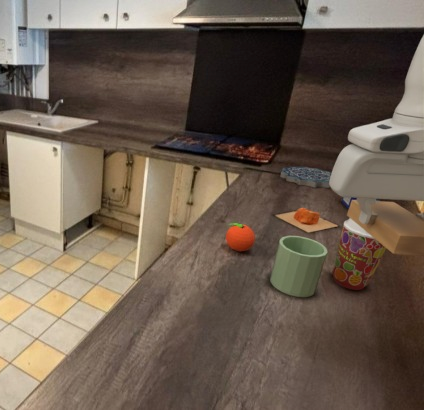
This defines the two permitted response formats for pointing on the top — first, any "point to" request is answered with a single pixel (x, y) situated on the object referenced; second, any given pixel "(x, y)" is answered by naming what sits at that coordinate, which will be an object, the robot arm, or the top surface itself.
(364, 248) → the smoothie
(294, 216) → the salmon on cutting board
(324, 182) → the decorative tile
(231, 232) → the clementine
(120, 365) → the top surface
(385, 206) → the wooden block
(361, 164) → the robot arm
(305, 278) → the cup
